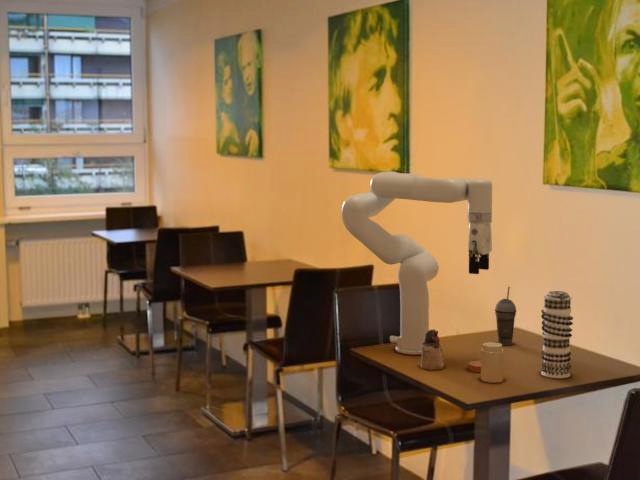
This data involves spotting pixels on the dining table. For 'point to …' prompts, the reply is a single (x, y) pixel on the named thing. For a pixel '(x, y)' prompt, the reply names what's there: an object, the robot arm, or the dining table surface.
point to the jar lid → (475, 366)
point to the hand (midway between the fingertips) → (478, 271)
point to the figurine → (432, 352)
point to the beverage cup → (505, 320)
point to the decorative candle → (556, 335)
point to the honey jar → (492, 362)
